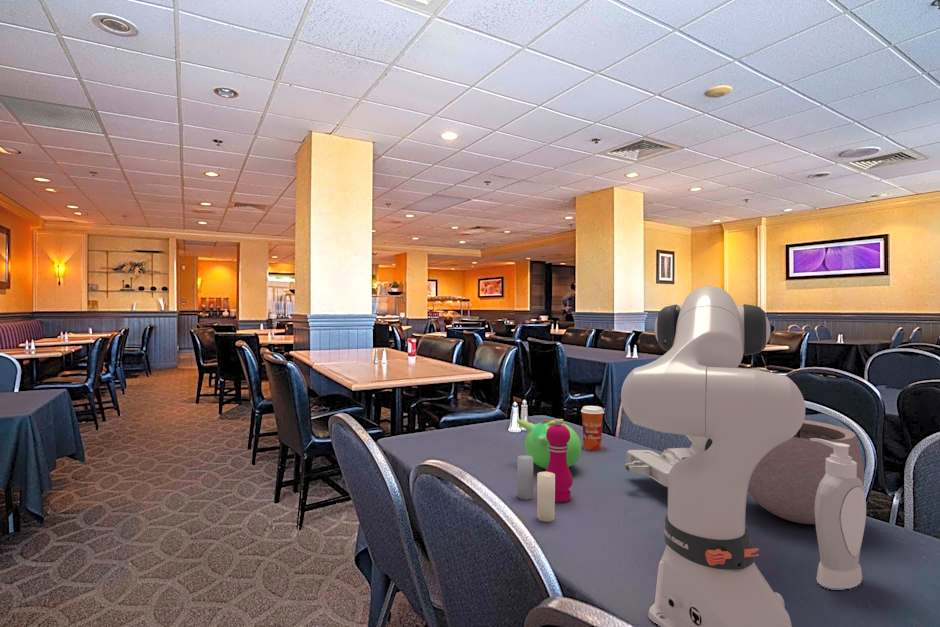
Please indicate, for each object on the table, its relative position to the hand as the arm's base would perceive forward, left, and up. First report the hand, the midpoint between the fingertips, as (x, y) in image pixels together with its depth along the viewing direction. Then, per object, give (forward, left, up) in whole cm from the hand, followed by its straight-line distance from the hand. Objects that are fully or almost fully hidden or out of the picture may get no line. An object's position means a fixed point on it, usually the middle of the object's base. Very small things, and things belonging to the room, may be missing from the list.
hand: (627, 468), depth 128 cm
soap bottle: (-44, -16, -7) cm, 47 cm away
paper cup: (+39, -8, -7) cm, 40 cm away
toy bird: (+22, +13, -7) cm, 26 cm away
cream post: (-11, +26, -6) cm, 29 cm away
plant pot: (-21, -31, -7) cm, 38 cm away
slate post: (+2, +27, -6) cm, 28 cm away
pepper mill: (0, +19, -7) cm, 20 cm away
